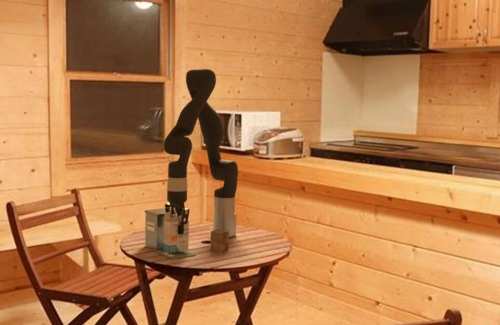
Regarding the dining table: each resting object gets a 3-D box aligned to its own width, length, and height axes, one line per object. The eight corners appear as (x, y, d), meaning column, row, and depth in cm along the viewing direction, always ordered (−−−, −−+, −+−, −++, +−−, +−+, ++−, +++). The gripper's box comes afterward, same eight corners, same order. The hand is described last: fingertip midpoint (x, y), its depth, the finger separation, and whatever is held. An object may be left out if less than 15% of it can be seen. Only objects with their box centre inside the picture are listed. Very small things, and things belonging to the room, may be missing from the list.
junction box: (163, 243, 238) (163, 208, 236) (175, 248, 230) (176, 212, 229) (144, 246, 232) (144, 210, 231) (156, 251, 225) (157, 214, 223)
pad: (178, 248, 230) (178, 247, 230) (195, 255, 221) (195, 254, 221) (156, 252, 223) (156, 251, 223) (173, 259, 214) (173, 258, 214)
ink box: (168, 253, 218) (169, 214, 216) (163, 250, 222) (163, 212, 220) (188, 250, 222) (189, 213, 221) (183, 247, 226) (183, 210, 225)
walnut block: (218, 248, 233) (218, 229, 232) (228, 250, 230) (228, 231, 229) (210, 251, 228) (211, 231, 228) (220, 253, 226) (221, 233, 225)
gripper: (196, 190, 216) (195, 235, 218) (175, 185, 227) (174, 228, 229) (179, 192, 211) (178, 238, 213) (158, 187, 222) (158, 230, 224)
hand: (176, 232), depth 221 cm, fingers closed on ink box, 5 cm apart
